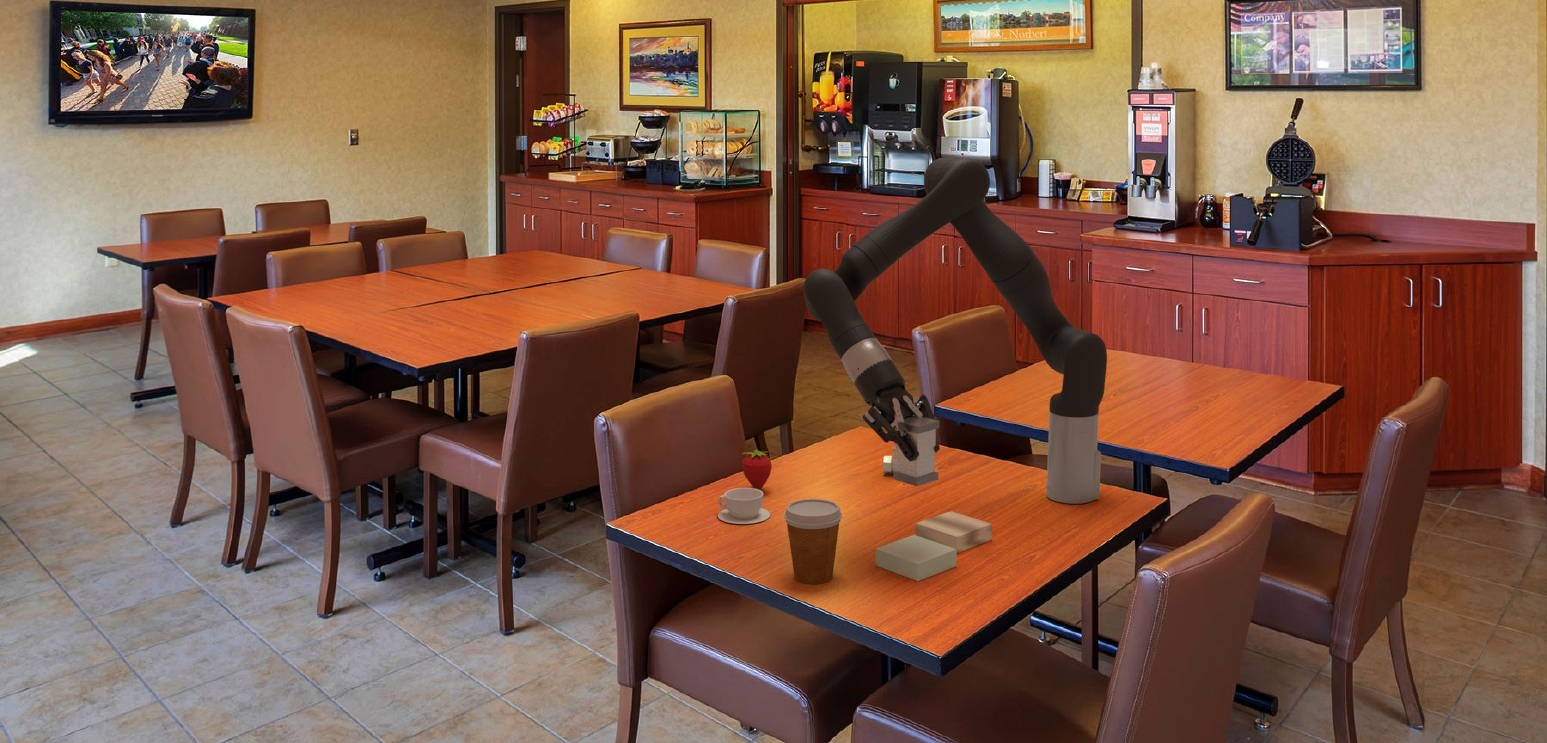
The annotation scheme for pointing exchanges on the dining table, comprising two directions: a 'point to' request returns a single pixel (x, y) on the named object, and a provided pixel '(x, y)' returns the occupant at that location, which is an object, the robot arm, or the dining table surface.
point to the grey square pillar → (924, 442)
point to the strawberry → (756, 468)
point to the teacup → (743, 506)
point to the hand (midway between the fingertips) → (925, 455)
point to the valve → (890, 462)
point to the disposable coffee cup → (813, 538)
